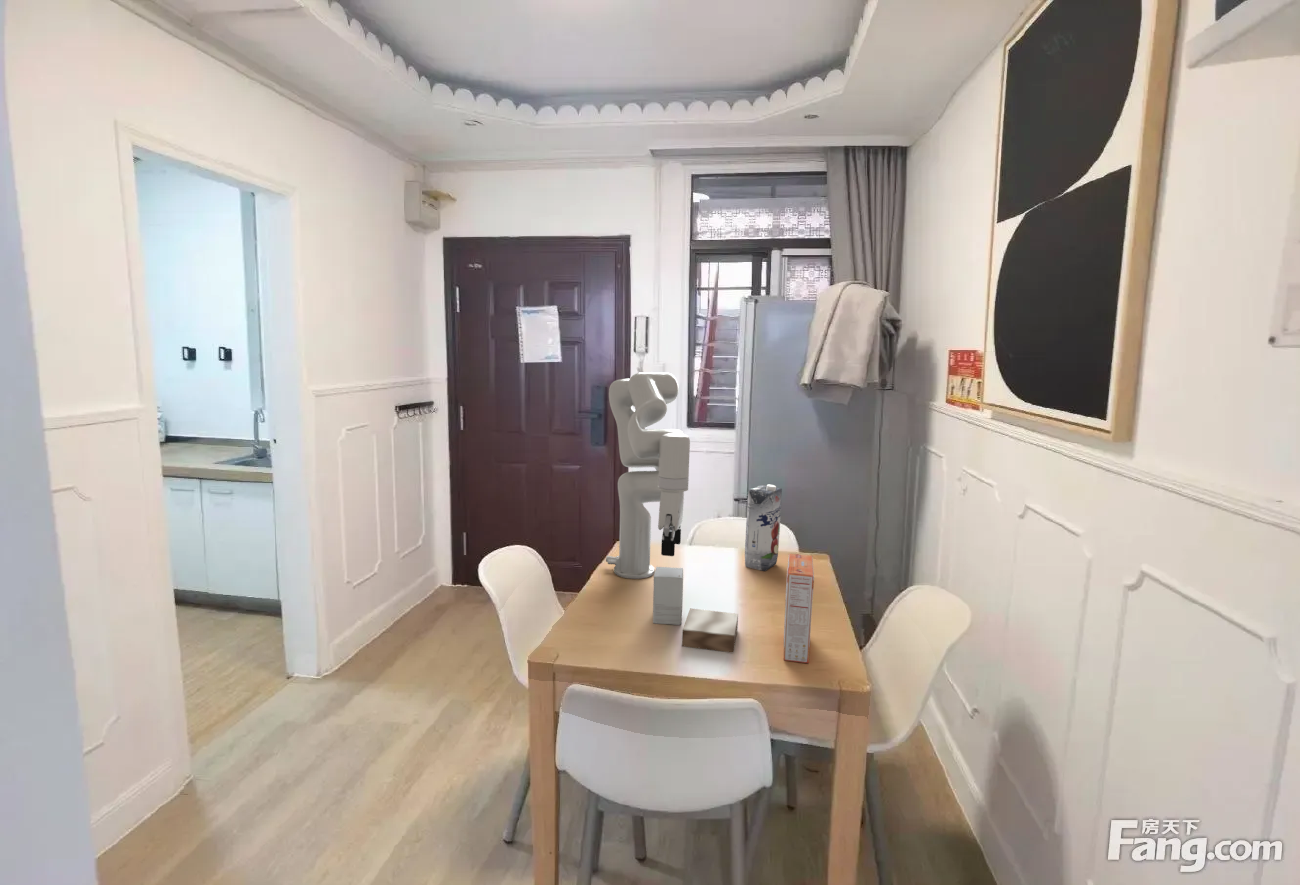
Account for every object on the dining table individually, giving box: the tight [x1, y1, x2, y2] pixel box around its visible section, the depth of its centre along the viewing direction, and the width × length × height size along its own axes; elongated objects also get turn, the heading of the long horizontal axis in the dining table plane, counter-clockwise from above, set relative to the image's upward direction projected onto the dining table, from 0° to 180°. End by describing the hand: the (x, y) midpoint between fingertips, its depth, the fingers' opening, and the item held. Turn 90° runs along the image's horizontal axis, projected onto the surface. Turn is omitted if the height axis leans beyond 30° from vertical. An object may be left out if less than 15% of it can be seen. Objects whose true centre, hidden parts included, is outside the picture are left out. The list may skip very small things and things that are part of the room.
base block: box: [681, 608, 739, 654], centre depth 150 cm, size 12×12×4 cm
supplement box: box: [652, 566, 684, 626], centre depth 160 cm, size 7×7×13 cm
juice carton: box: [744, 484, 783, 572], centre depth 200 cm, size 9×10×27 cm
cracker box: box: [783, 553, 815, 664], centre depth 145 cm, size 14×6×21 cm, turn 167°
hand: (671, 549), depth 158 cm, fingers open, 9 cm apart
